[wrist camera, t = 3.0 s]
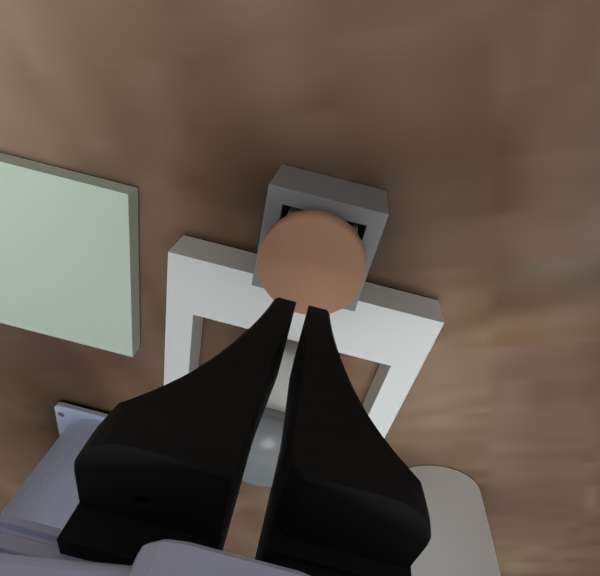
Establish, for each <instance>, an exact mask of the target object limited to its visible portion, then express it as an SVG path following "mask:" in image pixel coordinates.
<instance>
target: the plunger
mask: <svg viewBox="0 0 600 576" xmlns="http://www.w3.org/2000/svg"><path fill="white" fill-rule="evenodd" d="M257 271H258V276H259V279H260V282H261V284H262V286H263V287H264V289H265V290H266V292H267V293H268V294H269V296H270V297H271V298H272V299H273V300H274V299H276V298H278V297H279V298H283V299H287V300H290V301H294V302H296V306H295V310H294V312H296V313H300V314H305V315H306V313H307V309H308V306H309V305H310V306H314V307H318V308H322V309H325V310H327V311H328V312H329V314H330V313H333V312H336V311H338V310H340V309H342V308H344V307H346V306H347V305H348V304H350V303H351V302H352V301H353V300H354V299H355V298H356V297H357V295H358V294H359V292H360V291H361V289H362V286H363V284H364V280H365V273H366V254H365V249H364V245H363V243H362V240H361V238H360V237H359V235H358V223H354V222H350V221H346V220H343V219H341V218H340V217H338V216H336V215H334V214H331V213H328V212H324V211H319V210H303V209H299V208H295V207H290V210H289V212H288V214H287V216H285V217H283V218H282V219H280V220H279V221H278V222H277V223H276V224H275V225H274V226H273V227H272V228H271V229H270V231H269V232H268V234H267V236H266V238H265V240H264V242H263V244H262V245H261V248H260V250H259V254H258V258H257Z"/></svg>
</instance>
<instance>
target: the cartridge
mask: <svg viewBox="0 0 600 576" xmlns="http://www.w3.org/2000/svg"><path fill="white" fill-rule="evenodd" d="M297 346H298V342H297V341H293V340H289V339H287V342H286V346H285V350H284V353H283V357H282V361H281V365H280V369H279V372H278V376H277V379H276V381H275V384H274V386H273V389H272V392H271V394H270V397H269V400H268V402H267V405H266V407H265V410H264V413H263V415H262V418H261V420H260V423H259V426H258V428H257V431H256V434H255V437H254V440H253V443H252V446H251V449H250V453H249V457H248V460H247V464H246V467H245V471H244V475H243V478H242V481H245V482H247V483H250V484H253V485H257V486H262V487H272V483H273V479H274V474H275V470H276V465H277V461H278V456H279V452H280V446H281V440H282V433H283V425H284V417H285V409H286V401H287V393H288V386H289V378H290V374H291V370H292V366H293V362H294V357H295V353H296V349H297Z"/></svg>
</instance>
